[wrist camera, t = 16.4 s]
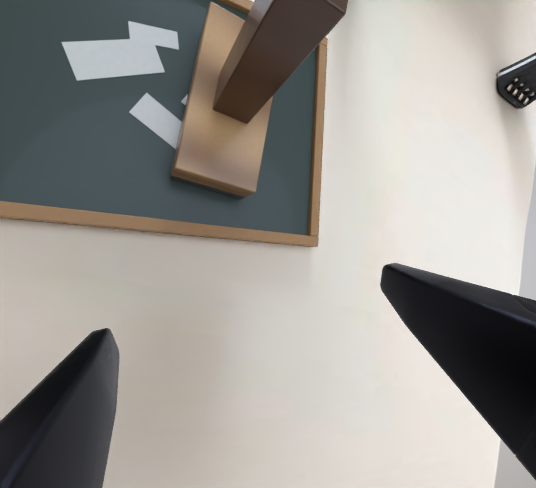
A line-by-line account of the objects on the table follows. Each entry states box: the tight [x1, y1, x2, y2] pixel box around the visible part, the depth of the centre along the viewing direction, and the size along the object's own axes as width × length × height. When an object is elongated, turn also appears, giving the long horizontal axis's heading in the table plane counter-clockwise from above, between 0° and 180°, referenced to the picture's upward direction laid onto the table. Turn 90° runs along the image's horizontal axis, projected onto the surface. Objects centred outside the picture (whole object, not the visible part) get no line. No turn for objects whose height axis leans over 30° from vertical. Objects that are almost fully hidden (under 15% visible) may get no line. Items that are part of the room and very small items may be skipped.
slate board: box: [0, 0, 328, 247], centre depth 18 cm, size 28×18×1 cm, turn 86°
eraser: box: [170, 0, 348, 199], centre depth 15 cm, size 11×5×12 cm, turn 169°
